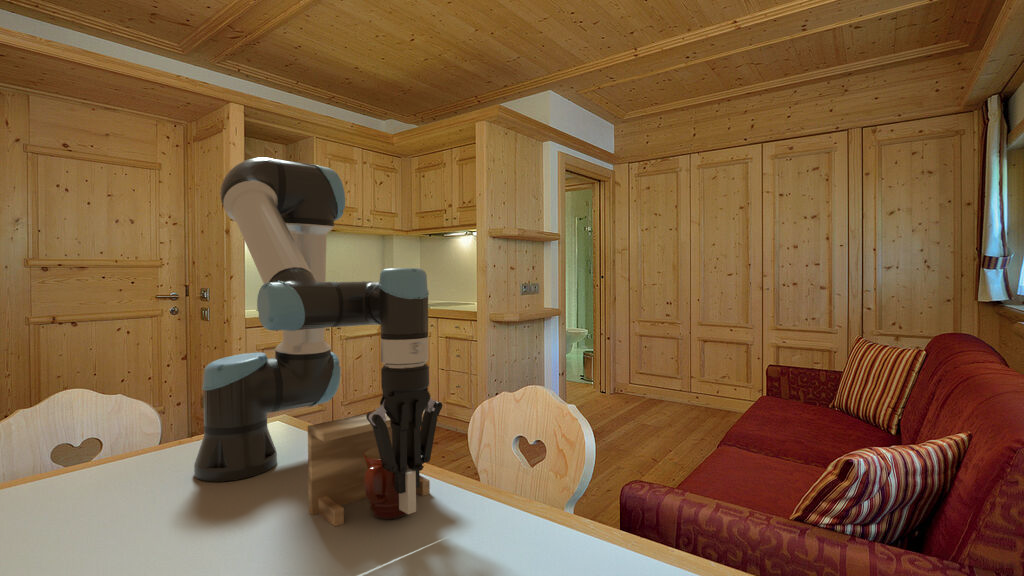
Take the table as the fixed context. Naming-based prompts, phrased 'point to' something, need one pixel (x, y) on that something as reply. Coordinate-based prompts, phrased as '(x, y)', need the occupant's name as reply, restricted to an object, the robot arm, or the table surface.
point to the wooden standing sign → (341, 465)
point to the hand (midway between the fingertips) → (407, 510)
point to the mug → (380, 487)
